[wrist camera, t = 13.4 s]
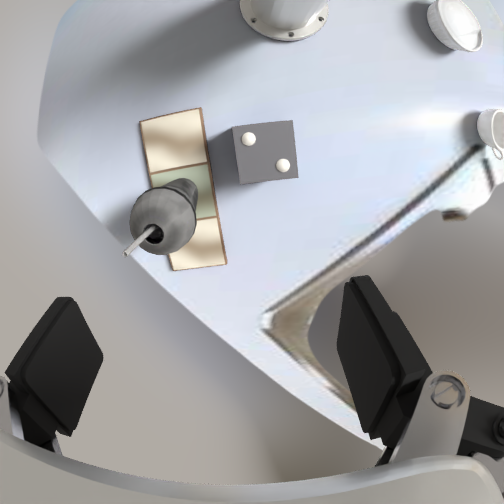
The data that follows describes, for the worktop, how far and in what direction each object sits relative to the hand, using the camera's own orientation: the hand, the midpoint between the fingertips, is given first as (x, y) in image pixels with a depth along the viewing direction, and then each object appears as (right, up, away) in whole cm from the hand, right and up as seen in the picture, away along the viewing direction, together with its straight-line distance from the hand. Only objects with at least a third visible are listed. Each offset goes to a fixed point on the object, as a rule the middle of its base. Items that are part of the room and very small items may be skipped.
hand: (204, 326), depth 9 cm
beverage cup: (-8, +11, +30) cm, 33 cm away
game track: (-8, +11, +31) cm, 34 cm away
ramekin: (+36, +42, +18) cm, 58 cm away
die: (+3, +17, +29) cm, 33 cm away
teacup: (+46, +25, +27) cm, 59 cm away
